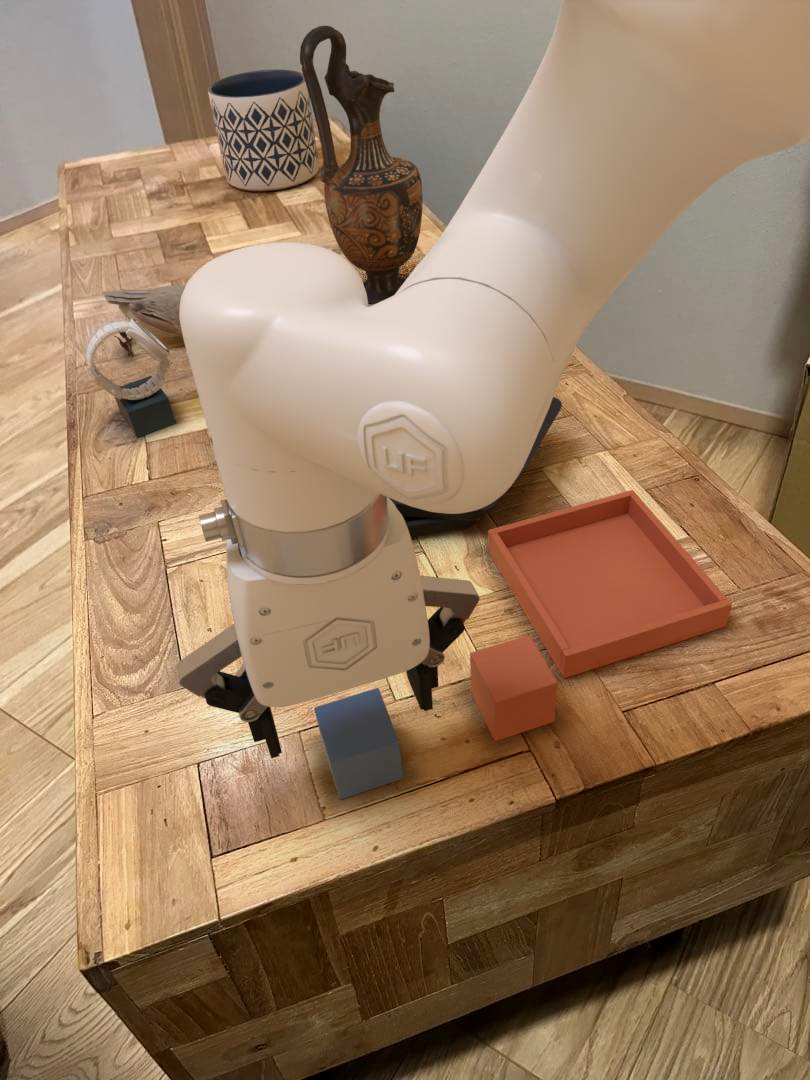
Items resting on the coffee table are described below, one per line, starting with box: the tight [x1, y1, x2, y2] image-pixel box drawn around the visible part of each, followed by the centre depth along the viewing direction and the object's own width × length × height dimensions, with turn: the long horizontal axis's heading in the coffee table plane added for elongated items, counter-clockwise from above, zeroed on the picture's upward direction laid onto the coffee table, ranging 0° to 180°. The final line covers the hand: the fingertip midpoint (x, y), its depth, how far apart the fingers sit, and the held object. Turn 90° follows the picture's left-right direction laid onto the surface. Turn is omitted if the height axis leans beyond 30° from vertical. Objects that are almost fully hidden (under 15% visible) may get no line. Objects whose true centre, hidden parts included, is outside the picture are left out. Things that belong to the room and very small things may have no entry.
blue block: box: [313, 687, 405, 800], centre depth 54 cm, size 4×4×4 cm
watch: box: [84, 318, 177, 439], centre depth 84 cm, size 6×8×11 cm
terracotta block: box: [469, 634, 559, 742], centre depth 56 cm, size 4×4×4 cm
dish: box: [487, 489, 733, 679], centre depth 64 cm, size 14×13×2 cm
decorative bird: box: [102, 284, 186, 356], centre depth 98 cm, size 5×16×8 cm, turn 106°
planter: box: [207, 68, 320, 192], centre depth 136 cm, size 16×16×14 cm
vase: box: [299, 25, 424, 305], centre depth 95 cm, size 12×12×30 cm
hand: (347, 715), depth 52 cm, fingers open, 9 cm apart
